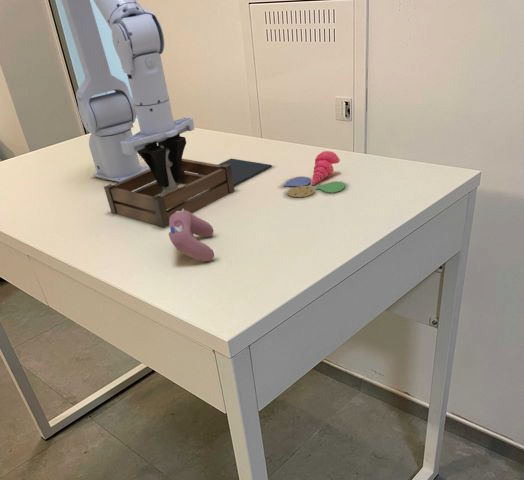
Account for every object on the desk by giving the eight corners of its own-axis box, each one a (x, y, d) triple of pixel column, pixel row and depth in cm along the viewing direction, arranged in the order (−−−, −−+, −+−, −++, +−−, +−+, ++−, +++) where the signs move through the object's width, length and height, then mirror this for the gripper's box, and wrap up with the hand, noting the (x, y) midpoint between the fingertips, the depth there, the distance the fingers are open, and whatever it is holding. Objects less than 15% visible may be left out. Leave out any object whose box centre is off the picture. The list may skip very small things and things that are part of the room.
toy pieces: (289, 173, 104) (287, 150, 101) (348, 171, 101) (348, 147, 99) (277, 198, 94) (275, 173, 92) (342, 196, 92) (342, 170, 89)
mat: (193, 178, 108) (193, 176, 108) (231, 160, 114) (231, 158, 114) (234, 186, 102) (234, 184, 102) (271, 166, 108) (271, 164, 108)
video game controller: (192, 245, 87) (164, 211, 83) (216, 230, 85) (188, 194, 82) (191, 275, 79) (160, 238, 75) (217, 258, 78) (186, 220, 74)
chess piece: (163, 198, 101) (151, 142, 95) (187, 196, 100) (176, 140, 95) (159, 207, 97) (146, 150, 91) (183, 205, 97) (172, 147, 91)
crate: (111, 212, 98) (103, 186, 95) (181, 179, 108) (176, 155, 105) (164, 228, 90) (157, 199, 87) (234, 190, 100) (231, 164, 97)
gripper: (132, 115, 82) (153, 201, 90) (200, 91, 91) (213, 172, 99) (104, 112, 86) (126, 195, 94) (171, 89, 95) (187, 167, 103)
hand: (169, 183), depth 97 cm, fingers closed on chess piece, 2 cm apart
